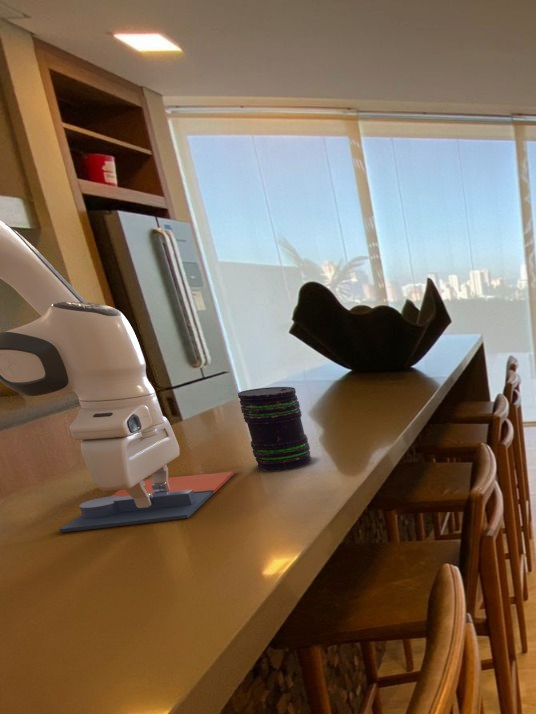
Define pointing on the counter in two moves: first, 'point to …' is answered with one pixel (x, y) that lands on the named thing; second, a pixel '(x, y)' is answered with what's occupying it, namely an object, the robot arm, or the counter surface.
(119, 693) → the counter surface
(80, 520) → the sorting mat
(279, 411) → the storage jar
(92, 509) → the rounded-end blue bar
